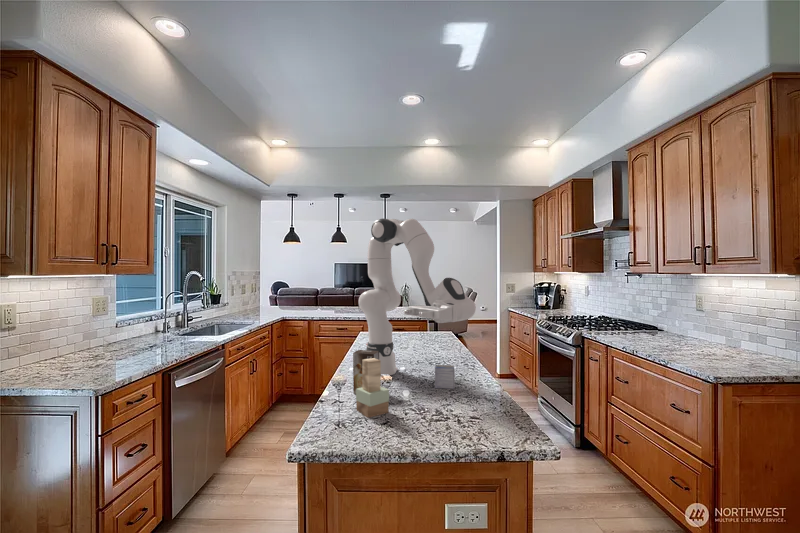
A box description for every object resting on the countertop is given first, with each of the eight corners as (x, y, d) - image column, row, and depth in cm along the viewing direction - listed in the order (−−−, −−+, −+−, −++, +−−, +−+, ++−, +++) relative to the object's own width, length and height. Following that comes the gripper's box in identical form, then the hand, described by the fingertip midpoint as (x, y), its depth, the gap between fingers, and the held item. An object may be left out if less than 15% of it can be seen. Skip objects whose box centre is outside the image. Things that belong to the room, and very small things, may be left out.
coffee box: (380, 391, 159) (380, 350, 159) (374, 396, 152) (374, 354, 152) (358, 389, 161) (358, 349, 161) (352, 394, 155) (352, 352, 155)
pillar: (362, 388, 136) (362, 359, 136) (373, 386, 139) (373, 357, 139) (368, 392, 133) (368, 362, 133) (380, 390, 135) (380, 360, 135)
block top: (356, 400, 137) (356, 388, 137) (374, 395, 142) (374, 384, 142) (369, 406, 131) (369, 394, 131) (389, 401, 136) (388, 389, 136)
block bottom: (356, 411, 137) (356, 399, 137) (376, 406, 142) (376, 395, 142) (367, 418, 131) (367, 406, 131) (388, 413, 135) (388, 401, 135)
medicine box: (454, 386, 166) (454, 365, 166) (454, 389, 161) (454, 367, 161) (435, 385, 167) (435, 364, 167) (434, 388, 162) (434, 367, 162)
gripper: (424, 301, 164) (396, 303, 156) (459, 305, 147) (429, 307, 139) (424, 316, 164) (396, 319, 156) (459, 322, 147) (429, 325, 139)
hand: (412, 313), depth 147 cm, fingers open, 8 cm apart
